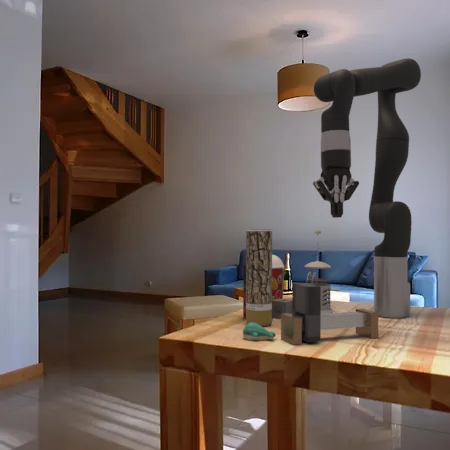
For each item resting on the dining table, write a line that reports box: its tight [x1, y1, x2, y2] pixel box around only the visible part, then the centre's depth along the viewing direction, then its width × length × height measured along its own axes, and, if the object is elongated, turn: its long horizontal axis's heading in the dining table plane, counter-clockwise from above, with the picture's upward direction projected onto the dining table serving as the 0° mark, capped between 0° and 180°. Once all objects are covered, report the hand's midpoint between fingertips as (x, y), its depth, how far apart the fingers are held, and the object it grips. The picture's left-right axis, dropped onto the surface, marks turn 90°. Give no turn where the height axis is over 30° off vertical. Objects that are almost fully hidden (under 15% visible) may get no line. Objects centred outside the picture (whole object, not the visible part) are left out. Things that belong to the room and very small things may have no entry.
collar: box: [291, 282, 322, 344], centre depth 107 cm, size 3×7×12 cm, turn 20°
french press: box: [304, 229, 335, 314], centre depth 145 cm, size 10×12×25 cm
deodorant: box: [242, 263, 246, 321], centre depth 133 cm, size 6×6×15 cm
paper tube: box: [245, 228, 273, 327], centre depth 125 cm, size 7×7×25 cm
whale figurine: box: [242, 322, 276, 341], centre depth 108 cm, size 6×7×4 cm
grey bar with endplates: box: [280, 308, 379, 346], centre depth 109 cm, size 22×6×6 cm, turn 110°
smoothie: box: [272, 254, 286, 300], centre depth 146 cm, size 8×8×20 cm
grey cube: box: [272, 298, 292, 320], centre depth 135 cm, size 5×5×5 cm
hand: (336, 217), depth 122 cm, fingers closed
